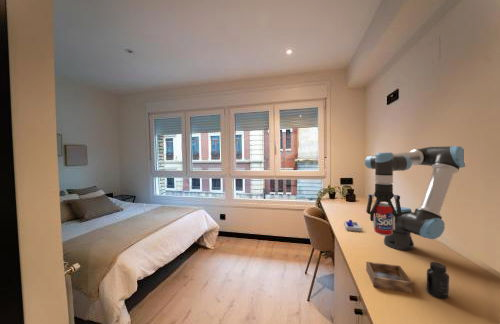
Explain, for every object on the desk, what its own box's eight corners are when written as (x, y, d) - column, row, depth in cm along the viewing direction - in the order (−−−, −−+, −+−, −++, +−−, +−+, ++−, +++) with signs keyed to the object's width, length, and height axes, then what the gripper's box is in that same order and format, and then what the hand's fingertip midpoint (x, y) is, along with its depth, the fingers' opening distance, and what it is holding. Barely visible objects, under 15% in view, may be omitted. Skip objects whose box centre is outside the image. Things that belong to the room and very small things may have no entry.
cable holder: (352, 228, 158) (352, 223, 158) (347, 227, 160) (347, 222, 160) (354, 225, 165) (354, 220, 165) (349, 224, 167) (349, 219, 166)
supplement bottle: (421, 289, 89) (422, 260, 88) (436, 288, 89) (437, 259, 89) (437, 300, 82) (438, 269, 81) (453, 299, 82) (454, 268, 82)
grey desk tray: (357, 225, 166) (357, 222, 166) (361, 232, 153) (361, 228, 153) (343, 224, 169) (344, 221, 169) (346, 230, 156) (346, 226, 156)
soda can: (384, 230, 113) (384, 201, 112) (396, 235, 105) (396, 205, 104) (370, 231, 111) (370, 202, 111) (382, 237, 104) (382, 206, 103)
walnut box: (399, 274, 100) (399, 265, 99) (412, 293, 86) (413, 283, 86) (366, 269, 104) (366, 261, 104) (373, 286, 90) (373, 277, 90)
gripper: (404, 182, 108) (404, 227, 109) (359, 181, 114) (359, 224, 115) (411, 185, 100) (410, 232, 101) (362, 183, 106) (362, 228, 107)
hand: (383, 228), depth 108 cm, fingers closed on soda can, 8 cm apart
